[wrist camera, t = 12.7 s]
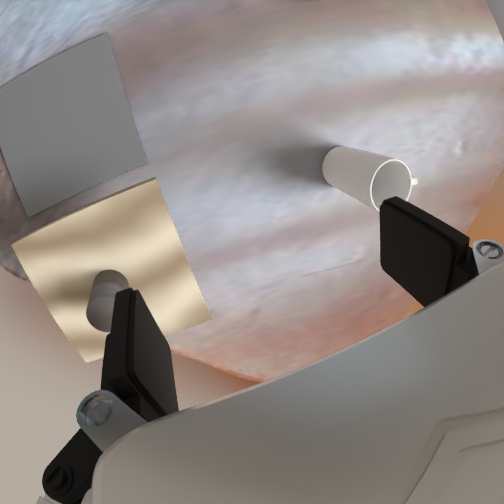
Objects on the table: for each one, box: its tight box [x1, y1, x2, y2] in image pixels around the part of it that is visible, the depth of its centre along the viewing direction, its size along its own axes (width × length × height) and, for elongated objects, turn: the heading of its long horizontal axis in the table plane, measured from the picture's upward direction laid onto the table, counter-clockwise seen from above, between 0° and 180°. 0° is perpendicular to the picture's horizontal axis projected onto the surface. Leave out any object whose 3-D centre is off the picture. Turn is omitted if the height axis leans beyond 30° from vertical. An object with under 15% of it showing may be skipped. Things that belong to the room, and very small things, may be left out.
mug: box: [322, 146, 417, 212], centre depth 39 cm, size 10×7×12 cm, turn 93°
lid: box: [11, 177, 212, 362], centre depth 27 cm, size 16×16×6 cm
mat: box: [0, 33, 148, 218], centre depth 30 cm, size 18×18×1 cm
